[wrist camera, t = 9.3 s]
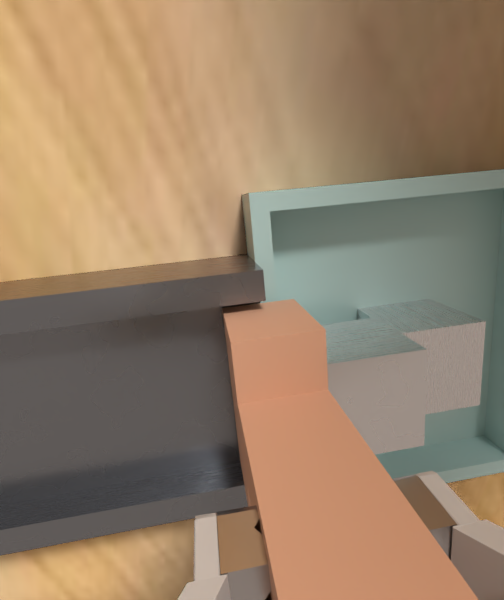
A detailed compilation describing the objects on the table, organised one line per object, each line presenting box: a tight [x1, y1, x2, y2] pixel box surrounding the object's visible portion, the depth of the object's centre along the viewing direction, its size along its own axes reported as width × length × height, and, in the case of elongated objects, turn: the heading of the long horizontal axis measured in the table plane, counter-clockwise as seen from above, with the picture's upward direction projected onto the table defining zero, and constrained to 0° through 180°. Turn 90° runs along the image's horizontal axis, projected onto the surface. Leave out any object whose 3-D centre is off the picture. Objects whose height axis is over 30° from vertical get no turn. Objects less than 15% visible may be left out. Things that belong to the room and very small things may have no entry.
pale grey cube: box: [357, 299, 486, 414], centre depth 18 cm, size 4×4×4 cm
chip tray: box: [242, 169, 504, 483], centre depth 19 cm, size 14×16×2 cm
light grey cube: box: [322, 317, 427, 454], centre depth 16 cm, size 4×4×4 cm
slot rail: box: [0, 255, 266, 555], centre depth 16 cm, size 20×10×4 cm, turn 95°
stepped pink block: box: [222, 299, 479, 600], centre depth 11 cm, size 3×7×11 cm, turn 5°
